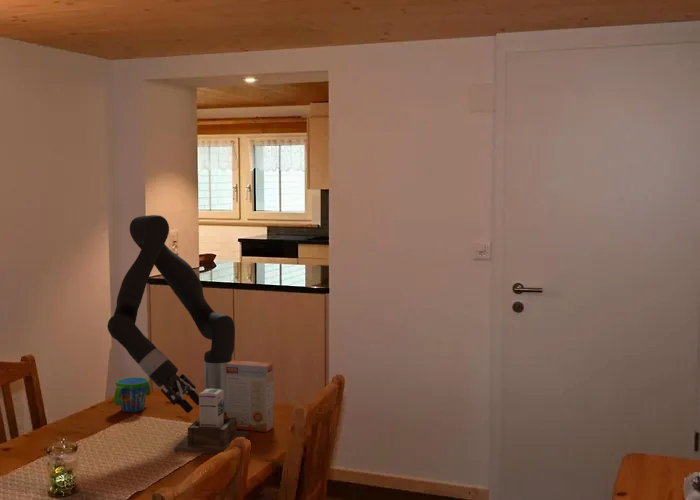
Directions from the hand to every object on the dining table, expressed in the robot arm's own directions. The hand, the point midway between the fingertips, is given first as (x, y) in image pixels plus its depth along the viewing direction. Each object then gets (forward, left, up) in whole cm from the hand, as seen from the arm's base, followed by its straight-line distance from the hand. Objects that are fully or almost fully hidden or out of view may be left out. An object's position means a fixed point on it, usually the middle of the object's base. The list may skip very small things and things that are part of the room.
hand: (195, 406), depth 222 cm
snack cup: (-29, -33, -11) cm, 45 cm away
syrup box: (0, +5, -10) cm, 11 cm away
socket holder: (0, +5, -11) cm, 12 cm away
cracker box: (-16, +12, -11) cm, 23 cm away
